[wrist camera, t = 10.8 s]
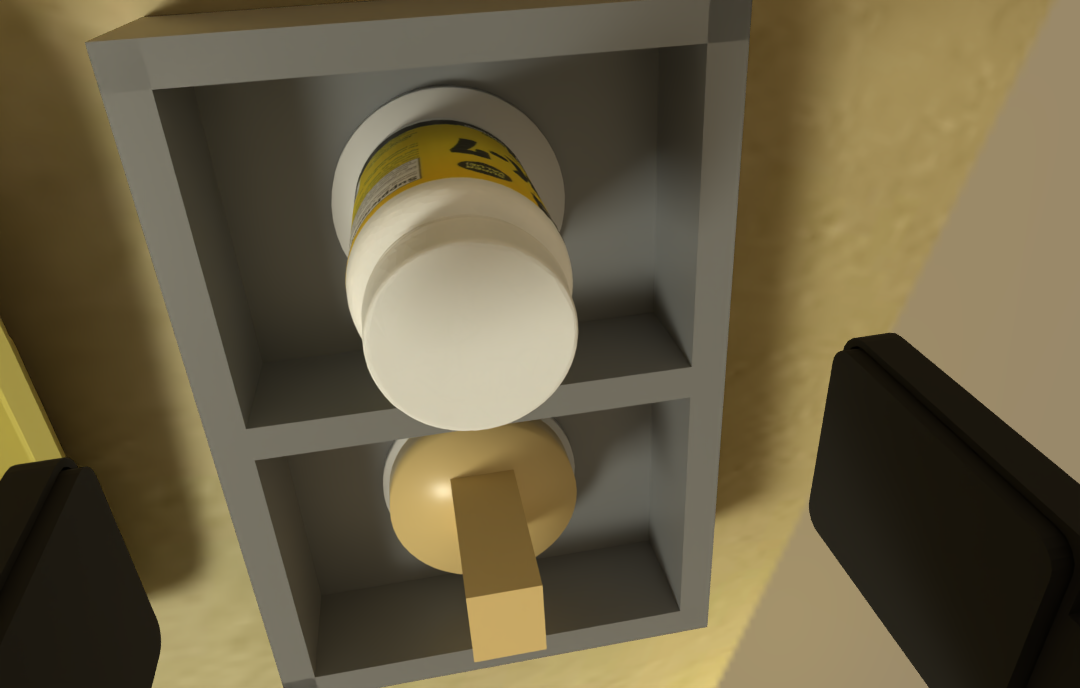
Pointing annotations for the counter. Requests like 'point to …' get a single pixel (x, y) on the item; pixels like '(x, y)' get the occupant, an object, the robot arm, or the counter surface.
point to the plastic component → (21, 413)
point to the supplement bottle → (458, 278)
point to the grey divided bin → (337, 349)
